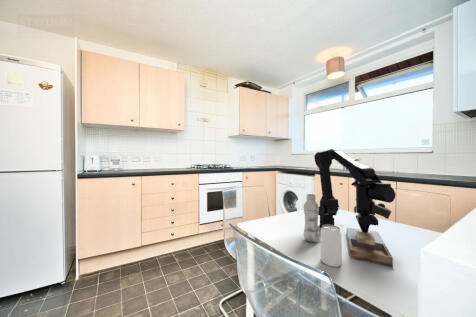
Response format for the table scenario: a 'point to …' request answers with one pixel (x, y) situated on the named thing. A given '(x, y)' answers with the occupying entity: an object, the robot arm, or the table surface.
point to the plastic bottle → (311, 219)
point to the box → (371, 254)
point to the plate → (353, 236)
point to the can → (331, 245)
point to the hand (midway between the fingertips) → (365, 235)
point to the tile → (365, 238)
